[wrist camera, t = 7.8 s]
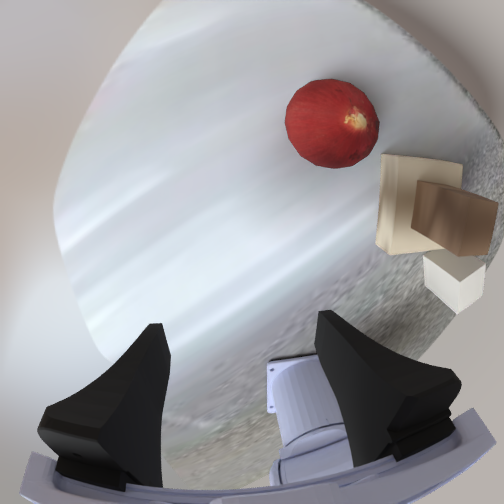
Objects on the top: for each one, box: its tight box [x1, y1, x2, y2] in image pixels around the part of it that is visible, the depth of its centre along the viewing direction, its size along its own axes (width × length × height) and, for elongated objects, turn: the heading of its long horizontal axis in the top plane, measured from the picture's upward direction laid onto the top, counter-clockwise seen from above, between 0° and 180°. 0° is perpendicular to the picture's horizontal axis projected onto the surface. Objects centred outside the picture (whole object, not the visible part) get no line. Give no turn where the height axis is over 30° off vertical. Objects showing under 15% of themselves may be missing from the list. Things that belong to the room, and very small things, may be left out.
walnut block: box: [411, 180, 498, 257], centre depth 17 cm, size 4×4×6 cm
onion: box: [285, 79, 380, 168], centre depth 15 cm, size 6×6×8 cm
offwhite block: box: [423, 249, 486, 314], centre depth 22 cm, size 4×4×6 cm
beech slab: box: [375, 154, 463, 255], centre depth 21 cm, size 8×8×3 cm
